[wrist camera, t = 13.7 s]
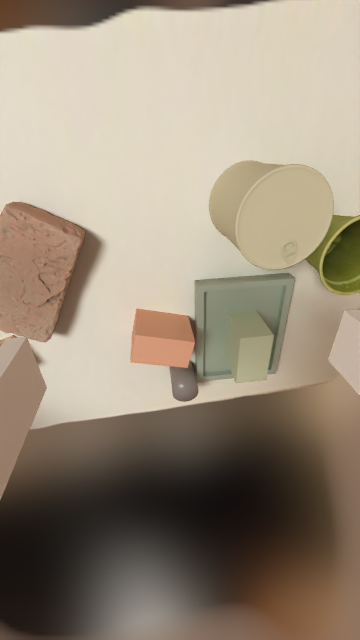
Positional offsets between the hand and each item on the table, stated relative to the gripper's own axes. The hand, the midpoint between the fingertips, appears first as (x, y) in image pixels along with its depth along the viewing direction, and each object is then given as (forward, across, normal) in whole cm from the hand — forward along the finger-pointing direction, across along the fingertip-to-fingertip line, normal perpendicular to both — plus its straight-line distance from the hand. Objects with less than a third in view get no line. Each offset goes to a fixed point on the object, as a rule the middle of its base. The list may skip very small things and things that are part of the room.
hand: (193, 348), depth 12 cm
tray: (+27, +11, -17) cm, 34 cm away
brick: (+27, -16, -6) cm, 32 cm away
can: (+27, +11, +2) cm, 29 cm away
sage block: (+26, +11, -18) cm, 33 cm away
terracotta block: (+27, -1, -16) cm, 31 cm away
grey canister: (+27, +2, -24) cm, 36 cm away
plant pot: (+27, +22, -3) cm, 35 cm away
